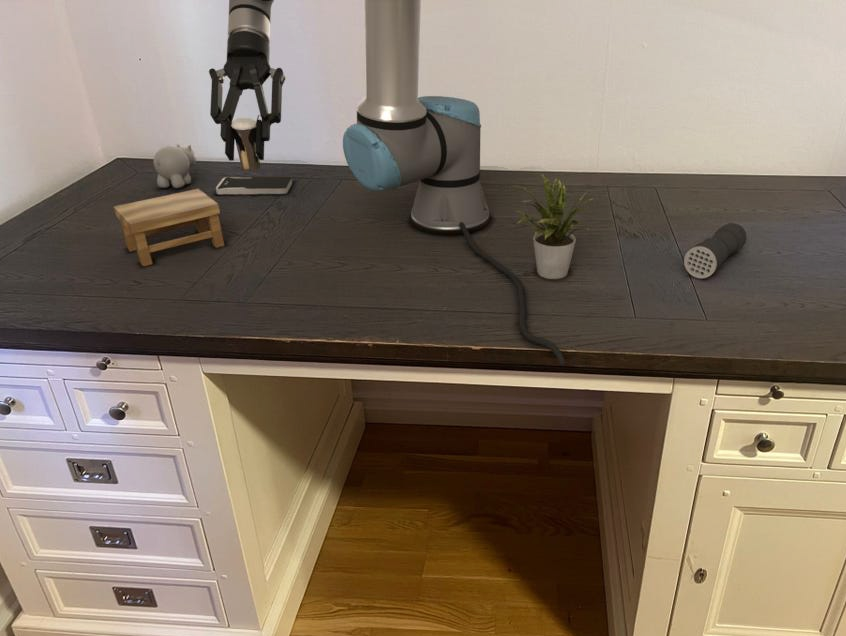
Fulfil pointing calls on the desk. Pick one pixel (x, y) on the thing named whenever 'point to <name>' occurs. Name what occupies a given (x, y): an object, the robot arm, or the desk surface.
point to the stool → (169, 221)
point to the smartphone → (254, 185)
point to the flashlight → (714, 250)
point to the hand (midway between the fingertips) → (244, 156)
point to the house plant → (553, 233)
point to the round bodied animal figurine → (174, 165)
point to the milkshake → (246, 143)
